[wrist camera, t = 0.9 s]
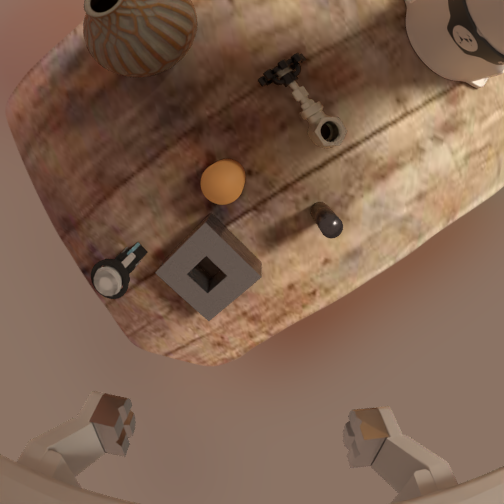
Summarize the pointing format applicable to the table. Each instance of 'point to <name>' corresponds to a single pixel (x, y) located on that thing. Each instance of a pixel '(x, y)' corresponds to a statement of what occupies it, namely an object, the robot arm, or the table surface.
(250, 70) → the table surface
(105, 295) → the push button
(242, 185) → the orange rounded tapered piece
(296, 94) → the valve
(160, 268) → the bore block
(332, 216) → the cylinder
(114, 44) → the vase
